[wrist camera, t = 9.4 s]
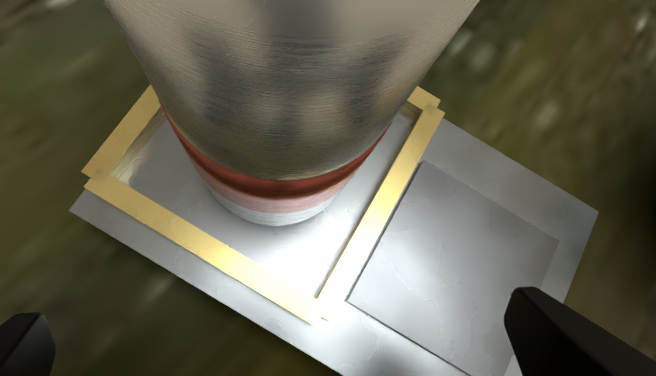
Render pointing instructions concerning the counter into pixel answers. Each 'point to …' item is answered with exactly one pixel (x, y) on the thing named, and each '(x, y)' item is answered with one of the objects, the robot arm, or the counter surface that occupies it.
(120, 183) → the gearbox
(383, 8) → the spout can
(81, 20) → the counter surface
